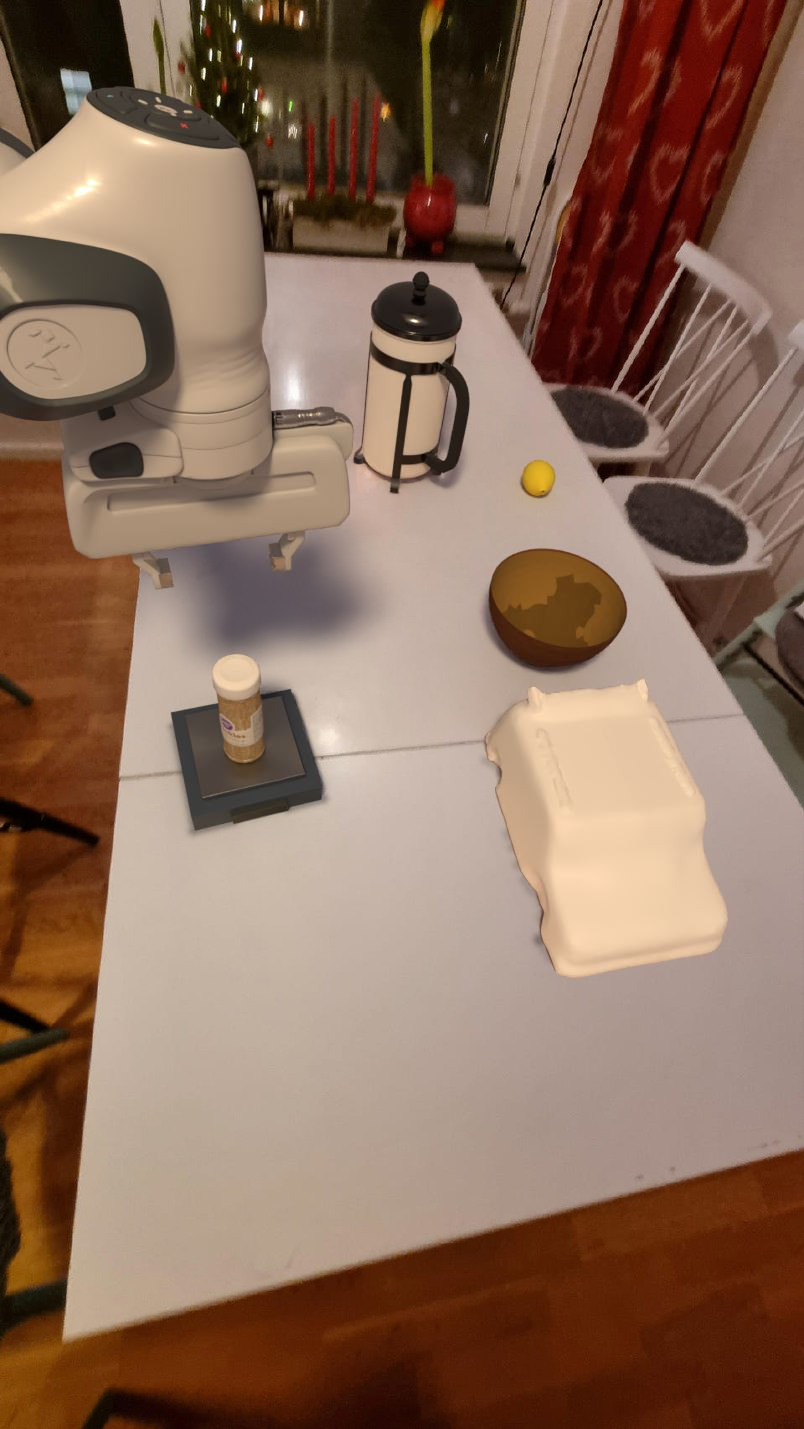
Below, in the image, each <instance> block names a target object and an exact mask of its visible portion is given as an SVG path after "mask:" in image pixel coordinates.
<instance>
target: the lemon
mask: <svg viewBox="0 0 804 1429" xmlns="http://www.w3.org/2000/svg"><path fill="white" fill-rule="evenodd" d="M521 477H522V478H521V479H522V485H523V487H524V489H525V491H526V492H528V493H529V494H530V495H532V496H536V497H539V496H545V495H546V494H547V493H549V492H550V491H551V490H552V488H553V487H554V485H555V481H556V472H555V469H554V467H553V466H552V465H551V464H550V463H549V462H547V461H545V460H542V459H535V460H531V461H530V462H529V463H527V465H526V466H524V468H523V471H522V475H521Z"/></svg>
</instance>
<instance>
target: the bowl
mask: <svg viewBox="0 0 804 1429" xmlns="http://www.w3.org/2000/svg"><path fill="white" fill-rule="evenodd" d="M627 605H628V604H627V601H626V598H625V595H624V592H623V591H622V589H621V587H620V586H619V584H618V583H617V581H615V579H614V578H613V577H612V576H611V575H610V574H609V573H608V572H607V571H606V570H605V569H603V567H600V566H599V565H598V564H596V563H594V562H593V561H591V560H589V559H588V558H586V557H583V556H581V555H578V554H576V553H572V552H569V551H565V550H563V549H562V550H561V549H555V548H530V549H525V550H521V551H520V550H519V552H515V553H513V554H510V555H509V556H507V557H505V558H504V559H503V560H502V561H501V562H500V563H499V564H498V565H497V566H496V568H495V569H494V572H493V574H492V576H491V579H490V583H489V589H488V610H489V614H490V619H491V622H492V624H493V627H494V629H495V631H496V634H497V635H498V638H499V639H500V640H501V642H502V643H503V644H504V646H505V647H506V648H507V649H508V650H509V651H510V652H511V653H512V654H513V655H515V656H516V657H517V658H519V659H520V660H522V661H524V662H526V663H528V664H531V665H533V666H537V667H541V668H547V669H548V668H549V669H550V668H555V669H556V668H565V667H570V666H574V665H578V664H581V663H584V662H586V661H588V660H590V659H593V658H594V657H596V656H598V655H599V654H601V652H603V651H604V650H605V649H607V648H608V647H609V646H610V645H611V644H612V643H613V642H614V640H615V639H616V638H617V637H618V636H619V634H620V632H621V631H622V629H623V627H624V625H625V623H626V621H627V617H628V606H627Z"/></svg>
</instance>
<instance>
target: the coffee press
mask: <svg viewBox="0 0 804 1429" xmlns="http://www.w3.org/2000/svg"><path fill="white" fill-rule="evenodd" d="M429 277H430V276H429V275H428V273H427V272H425V271H422V270H421V271H417V272H416V273H415V274H414V276H413V278H412V281H411V280H409V281H408V280H407V281H399V282H395V283H392V284H389V285H388V286H386V287H384V288H383V289H382V290H381V291H380V292H379V293H378V294H377V297H376V299H374V301H373V302H372V303H371V306H370V317H371V319H372V329H371V331H370V335H369V348H368V359H367V371H366V384H365V397H364V412H363V421H362V422H363V424H362V433H361V434H362V437H361V445H360V447H359V448H358V449H357V450H356V451H355V452H354V455H353V463H355V464H357V465H360V464H362V463H364V462H366V463H367V464H368V466H369V467H370V468H371V469H372V470H374V471H376V472H377V473H379V474H381V475H382V476H385V477H388V478H390V487H389V493H393V494H399V488H400V487H399V486H400V480H410V479H415V478H418V477H421V476H423V475H424V474H427V473H428V472H430V473H431V474H433V475H434V476H436V477H438V476H439V477H440V476H441V475H442V474H444V473H445V474H446V473H448V472H451V471H453V469H455V468H456V466H457V465H458V463H459V460H460V457H461V453H462V449H463V446H464V445H463V444H464V440H465V435H466V431H467V426H468V420H469V414H470V407H471V406H470V403H471V402H470V401H471V399H470V391H469V387H468V384H467V381H466V379H465V377H464V376H463V374H462V373H461V372H460V371H459V369H458V368H457V367H456V366H454V364H455V357H456V351H457V337H458V333H459V332H460V331H461V330H462V325H463V316H462V314H461V313H460V308H459V306H458V303H457V301H456V300H455V298H454V297H453V296H452V295H451V294H450V293H448V292H447V291H446V290H444V289H442V288H441V287H439V286H436V285H433V284H431V281H430V278H429ZM450 385H451V386H452V388H453V390H454V394H455V401H456V405H455V412H454V418H453V422H452V423H453V424H452V428H451V433H450V439H449V443H448V450H447V454H446V457H445V459H444V460H443V459H441V458H440V457H438V454H439V447H440V442H441V436H442V431H443V427H444V426H443V425H444V419H445V414H446V409H447V403H448V397H449V393H450V392H449V391H450ZM361 452H362V454H363V456H362V457H361V458H357V456H358V455H359V454H360V453H361Z"/></svg>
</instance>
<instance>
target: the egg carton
mask: <svg viewBox="0 0 804 1429" xmlns="http://www.w3.org/2000/svg"><path fill="white" fill-rule="evenodd" d="M526 693H527V698H525V699H522V700H521V701H518V702H516V703H514V704H512V706H510V707H509V708H508V709H507V710H506V711H505V713H504V714H503V716H502V717H501V718H500V720H499V721H498V723H497V724H496V725H495V727H494V728H493V729H492V730H490V731H489V732H488V733H486V737H485V740H484V743H485V744H486V747H485V748H486V753H487V759H488V760H489V761H490V762H493V763H495V765H497V766H498V767H499V769H500V770H501V779H500V781H499V782H498V784H497V785H496V787H495V793H496V794H497V795H496V796H497V798H498V802H499V806H500V808H501V811H502V814H503V816H504V820H505V823H506V827H507V831H508V834H509V838H510V840H511V845H512V847H513V851H514V853H515V856H516V859H517V863H518V866H519V869H520V871H521V874H522V875H523V876H524V878H525V879H526V881H527V882H528V884H529V885H530V886H531V887H532V888H533V889H534V890H535V892H536V894H537V897H538V901H539V904H540V906H541V908H542V911H543V916H542V921H541V926H540V934H541V939H542V941H543V944H544V946H545V947H546V949H547V952H548V954H549V957H550V960H551V962H552V965H553V968H554V971H555V973H556V974H557V975H559V976H562V977H565V978H566V977H567V978H570V979H571V978H572V979H580V978H583V977H589V976H595V975H599V974H603V973H607V972H612V971H618V970H623V969H627V968H632V967H638V966H643V965H651V964H656V963H663V962H667V961H673V960H677V959H685V958H690V957H697V956H702V955H707V954H710V953H712V952H714V951H715V950H716V949H717V948H719V946H720V945H721V943H722V942H723V936H724V935H723V934H724V933H725V930H726V928H727V925H728V921H729V915H728V914H729V913H728V907H727V904H726V899H724V897H723V894H722V891H721V889H720V887H719V884H718V883H717V881H716V878H715V876H714V874H713V872H712V869H711V866H710V864H709V861H708V858H707V856H706V851H705V847H704V834H705V833H704V832H705V829H706V825H707V818H708V813H707V805H706V799H705V796H704V794H703V793H702V790H701V788H700V787H699V785H698V784H697V782H696V780H695V778H694V776H693V773H692V771H691V769H690V768H689V766H688V764H687V762H686V760H685V758H684V756H683V754H682V752H681V749H680V748H679V746H678V743H677V740H676V738H675V736H674V735H673V732H672V730H671V727H670V726H669V724H668V722H667V721H666V719H665V717H664V715H663V714H662V712H661V710H660V708H659V707H658V705H657V703H656V702H655V700H654V698H653V697H652V696H651V695H650V694H649V689H648V686H647V683H646V681H645V678H644V676H643V675H641V676H640V677H637V680H636V682H631V683H630V684H623V683H619V684H618V685H614V686H606V687H599V688H598V687H597V688H591V687H586V688H578V689H571V690H561V691H556V692H548V693H546V692H544V691H541V690H540V689H539V688H538V687H536V686H530V687H528V688H527V692H526Z"/></svg>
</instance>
